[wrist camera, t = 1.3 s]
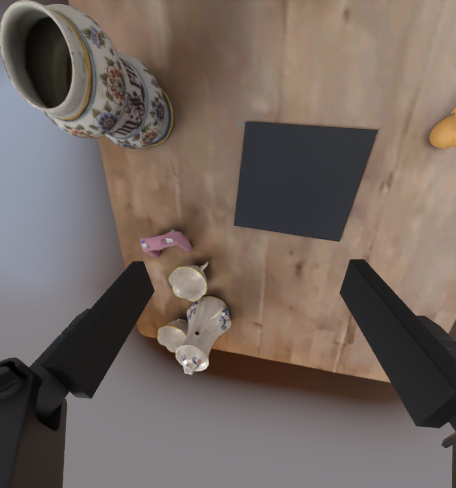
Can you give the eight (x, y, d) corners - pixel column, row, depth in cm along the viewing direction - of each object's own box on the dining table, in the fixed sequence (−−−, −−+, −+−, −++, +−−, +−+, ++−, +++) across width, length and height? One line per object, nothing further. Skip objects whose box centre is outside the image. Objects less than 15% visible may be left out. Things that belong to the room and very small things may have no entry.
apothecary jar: (180, 77, 31) (79, -34, 14) (178, 156, 35) (99, 141, 19) (116, 71, 33) (-40, -32, 16) (122, 148, 37) (4, 127, 21)
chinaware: (181, 245, 44) (125, 279, 29) (249, 268, 40) (224, 321, 26) (170, 330, 55) (125, 387, 40) (223, 354, 51) (195, 426, 36)
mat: (246, 122, 31) (245, 121, 31) (377, 130, 28) (378, 130, 28) (234, 225, 38) (234, 225, 38) (338, 241, 35) (339, 241, 35)
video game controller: (191, 231, 42) (173, 225, 36) (194, 251, 41) (176, 249, 35) (155, 240, 45) (132, 235, 38) (157, 258, 44) (134, 257, 38)
